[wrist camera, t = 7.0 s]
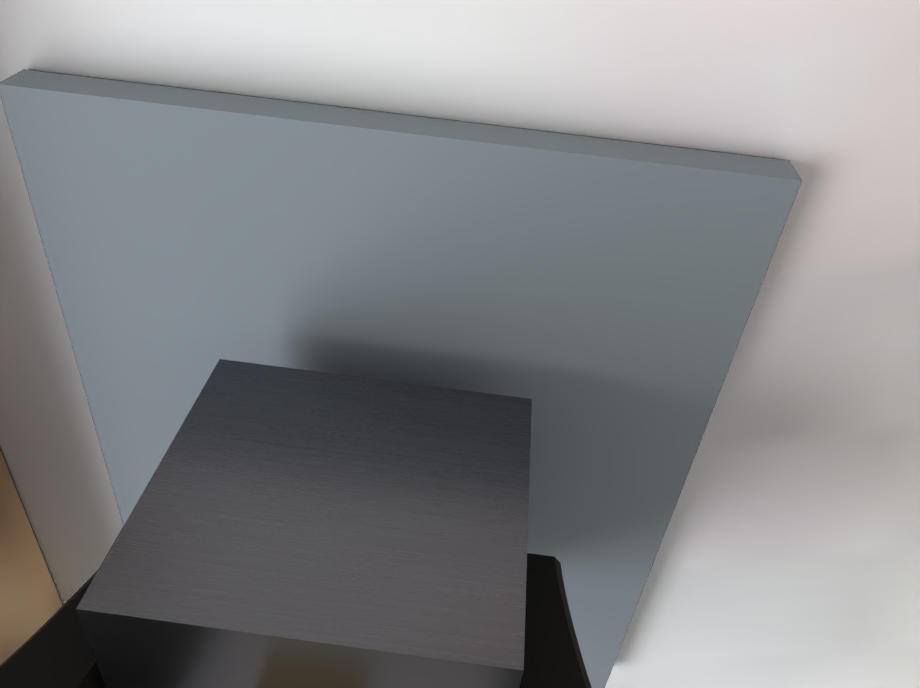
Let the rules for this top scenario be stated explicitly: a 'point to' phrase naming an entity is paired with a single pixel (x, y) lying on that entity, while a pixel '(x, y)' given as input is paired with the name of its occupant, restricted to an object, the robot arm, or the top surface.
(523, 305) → the slate mat
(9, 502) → the hand plane
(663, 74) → the top surface
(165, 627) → the lever cap
